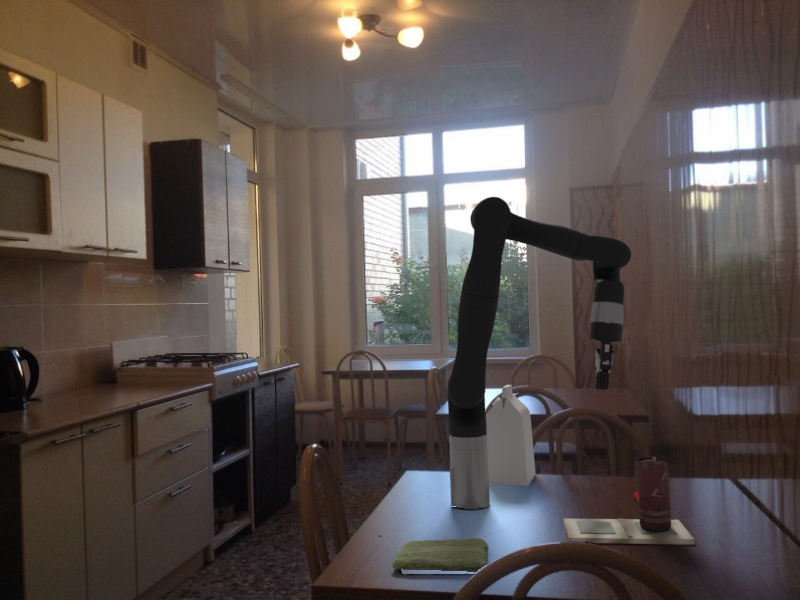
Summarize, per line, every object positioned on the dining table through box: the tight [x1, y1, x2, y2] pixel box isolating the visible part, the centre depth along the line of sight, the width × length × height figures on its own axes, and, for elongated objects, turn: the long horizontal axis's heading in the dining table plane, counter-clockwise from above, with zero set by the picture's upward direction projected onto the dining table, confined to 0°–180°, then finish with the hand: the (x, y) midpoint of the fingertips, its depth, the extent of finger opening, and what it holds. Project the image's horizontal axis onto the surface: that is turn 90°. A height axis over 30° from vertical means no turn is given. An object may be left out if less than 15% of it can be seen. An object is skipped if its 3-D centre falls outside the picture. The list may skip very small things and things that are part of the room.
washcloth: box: [391, 537, 489, 573], centre depth 124 cm, size 13×18×3 cm
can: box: [636, 456, 672, 532], centre depth 135 cm, size 6×6×14 cm
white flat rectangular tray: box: [563, 518, 696, 545], centre depth 135 cm, size 24×12×1 cm, turn 81°
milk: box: [486, 384, 537, 487], centre depth 182 cm, size 12×12×26 cm
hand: (601, 389), depth 156 cm, fingers open, 8 cm apart
